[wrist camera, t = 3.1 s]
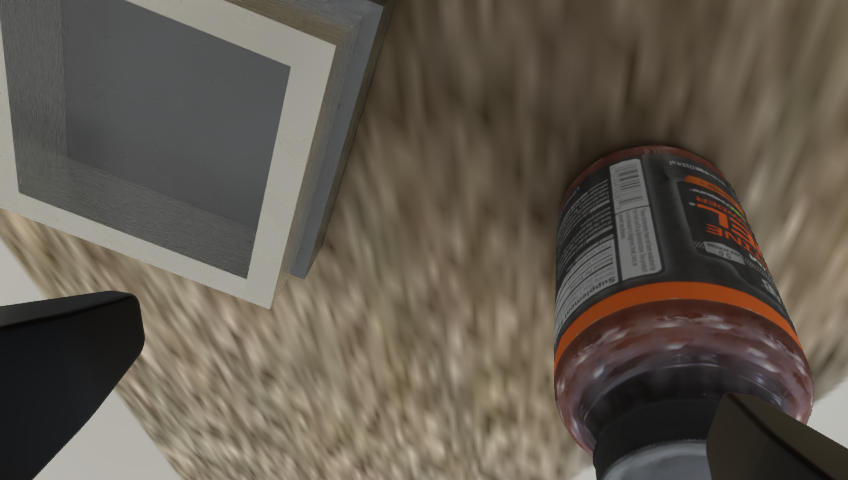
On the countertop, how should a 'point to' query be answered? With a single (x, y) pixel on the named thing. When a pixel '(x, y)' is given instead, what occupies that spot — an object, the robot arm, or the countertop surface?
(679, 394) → the supplement bottle
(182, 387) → the countertop surface
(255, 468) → the countertop surface
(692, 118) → the countertop surface
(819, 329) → the countertop surface
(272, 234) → the plate
